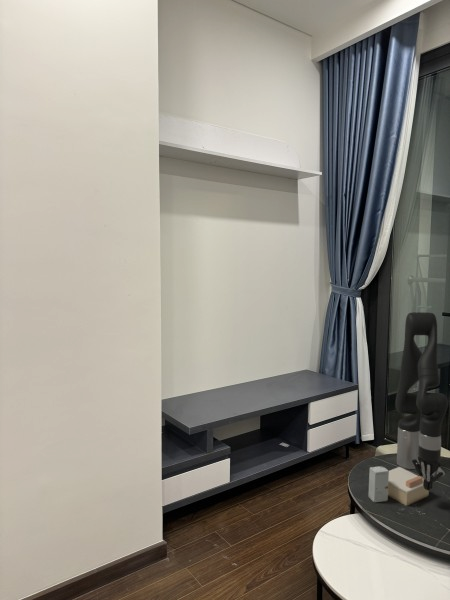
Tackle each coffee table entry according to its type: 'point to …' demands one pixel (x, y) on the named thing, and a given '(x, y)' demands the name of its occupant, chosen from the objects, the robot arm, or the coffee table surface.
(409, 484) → the lid
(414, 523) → the coffee table surface
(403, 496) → the box
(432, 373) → the robot arm
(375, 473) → the skincare box
